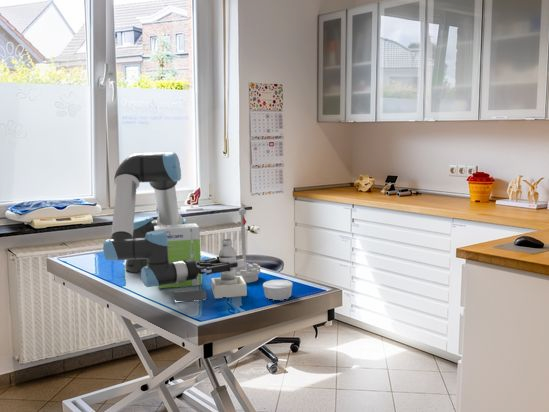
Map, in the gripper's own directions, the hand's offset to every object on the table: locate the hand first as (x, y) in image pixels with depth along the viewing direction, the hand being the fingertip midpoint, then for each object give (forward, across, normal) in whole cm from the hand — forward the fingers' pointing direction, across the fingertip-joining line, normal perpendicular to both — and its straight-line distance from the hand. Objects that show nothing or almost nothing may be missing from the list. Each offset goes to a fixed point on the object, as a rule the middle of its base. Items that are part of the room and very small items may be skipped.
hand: (239, 261), depth 226 cm
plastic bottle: (-5, 0, -11) cm, 12 cm away
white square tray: (-5, 0, -12) cm, 13 cm away
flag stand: (+9, -13, -12) cm, 20 cm away
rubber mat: (-20, -4, -12) cm, 23 cm away
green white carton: (-16, -23, -12) cm, 30 cm away
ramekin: (+7, +16, -12) cm, 21 cm away
